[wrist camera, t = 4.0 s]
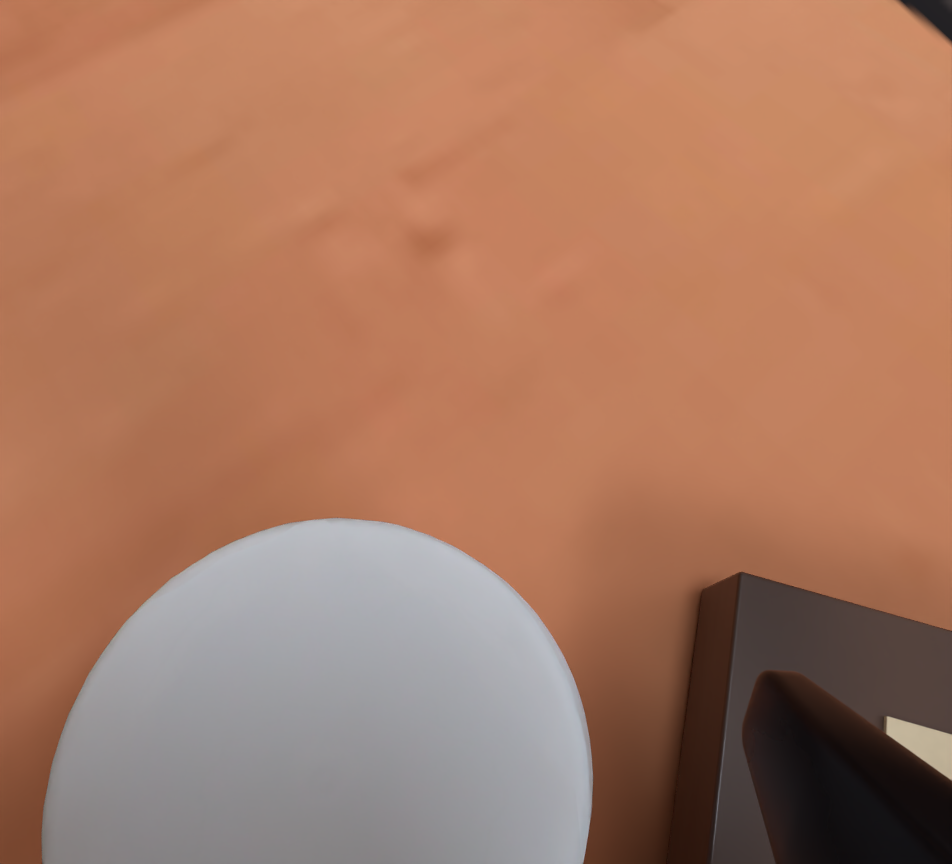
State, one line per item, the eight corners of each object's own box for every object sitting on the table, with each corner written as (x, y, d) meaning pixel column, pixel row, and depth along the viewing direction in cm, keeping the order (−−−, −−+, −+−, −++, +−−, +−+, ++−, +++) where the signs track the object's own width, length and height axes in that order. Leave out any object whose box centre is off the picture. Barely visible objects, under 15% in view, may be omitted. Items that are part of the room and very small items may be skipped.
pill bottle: (506, 610, 15) (649, 444, 6) (516, 903, 13) (751, 1267, 4) (251, 612, 15) (16, 432, 6) (220, 915, 13) (-218, 1359, 4)
